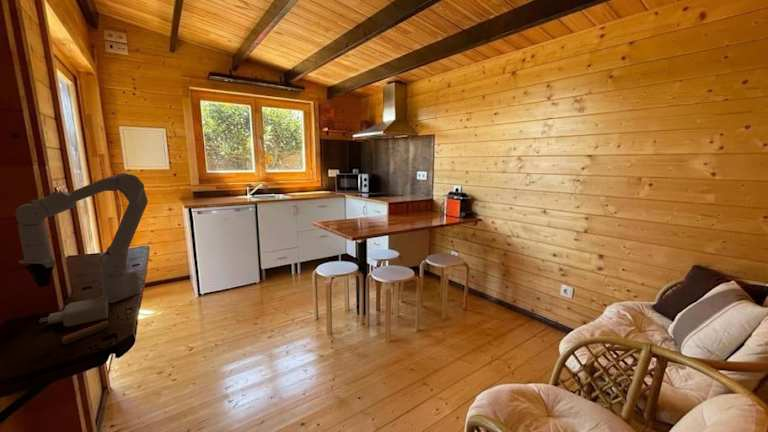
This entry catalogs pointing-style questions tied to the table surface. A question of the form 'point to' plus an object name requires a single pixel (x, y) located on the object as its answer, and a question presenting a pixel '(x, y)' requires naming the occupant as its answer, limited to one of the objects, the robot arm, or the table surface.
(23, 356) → the table surface
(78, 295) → the table surface
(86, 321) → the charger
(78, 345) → the table surface
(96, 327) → the brown stick
